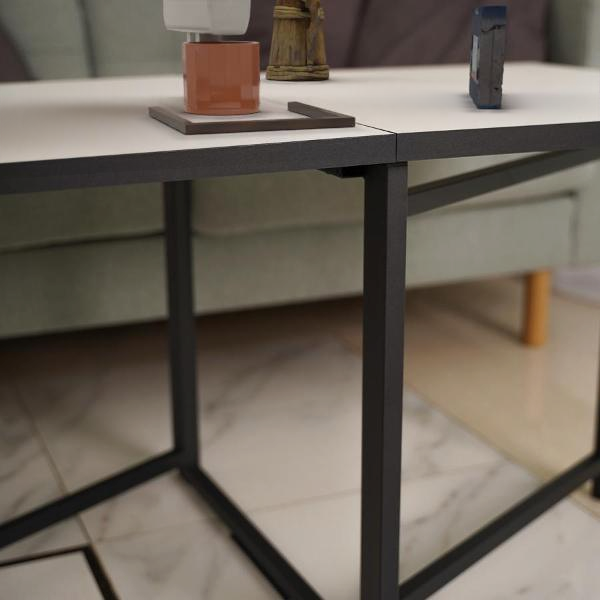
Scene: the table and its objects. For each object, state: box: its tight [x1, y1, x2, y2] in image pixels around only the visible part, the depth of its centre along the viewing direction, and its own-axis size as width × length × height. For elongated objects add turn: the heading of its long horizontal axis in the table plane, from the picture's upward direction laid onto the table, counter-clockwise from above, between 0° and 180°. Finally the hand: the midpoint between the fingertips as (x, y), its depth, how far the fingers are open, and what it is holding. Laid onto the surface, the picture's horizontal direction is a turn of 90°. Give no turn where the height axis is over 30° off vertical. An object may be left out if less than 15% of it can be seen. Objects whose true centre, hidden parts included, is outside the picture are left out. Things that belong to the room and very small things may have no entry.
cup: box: [181, 40, 261, 116], centre depth 89 cm, size 7×7×6 cm
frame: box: [147, 101, 356, 135], centre depth 82 cm, size 15×14×1 cm
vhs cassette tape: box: [468, 5, 508, 110], centre depth 99 cm, size 18×3×10 cm, turn 171°
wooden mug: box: [265, 0, 330, 82], centre depth 125 cm, size 9×14×18 cm, turn 22°
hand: (204, 78), depth 95 cm, fingers closed
